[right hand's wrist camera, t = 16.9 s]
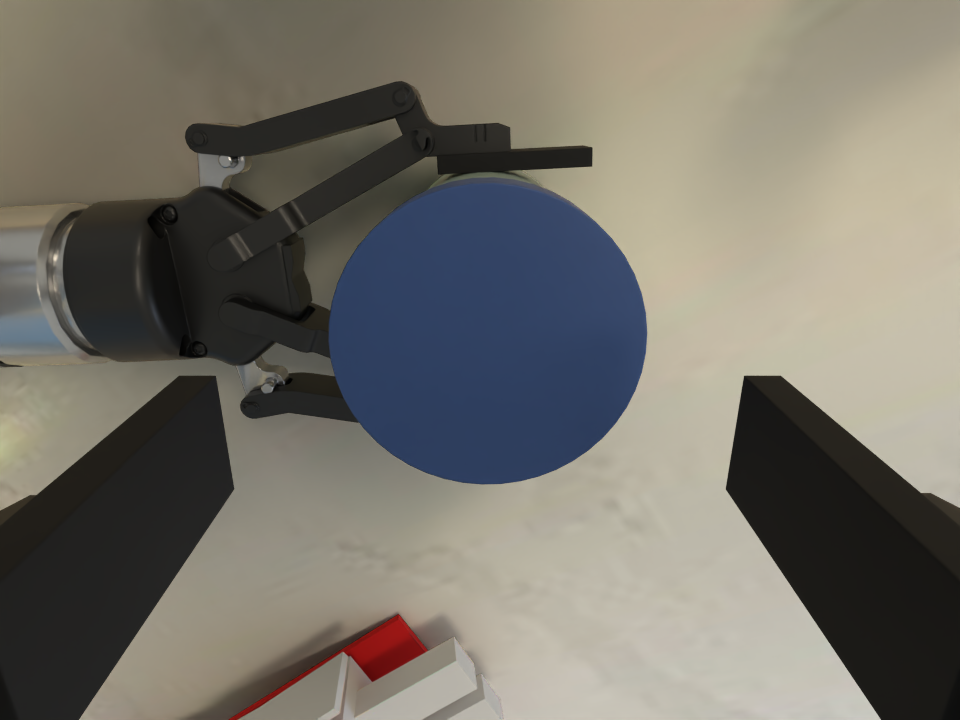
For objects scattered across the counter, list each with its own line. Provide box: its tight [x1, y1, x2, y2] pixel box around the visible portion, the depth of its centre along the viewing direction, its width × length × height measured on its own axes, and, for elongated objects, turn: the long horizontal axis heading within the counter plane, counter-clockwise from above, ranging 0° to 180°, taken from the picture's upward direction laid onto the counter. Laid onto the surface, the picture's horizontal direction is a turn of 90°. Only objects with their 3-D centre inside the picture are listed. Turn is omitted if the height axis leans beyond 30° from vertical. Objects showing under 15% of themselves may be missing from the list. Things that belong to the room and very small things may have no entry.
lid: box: [329, 177, 647, 484], centre depth 19 cm, size 9×9×2 cm
